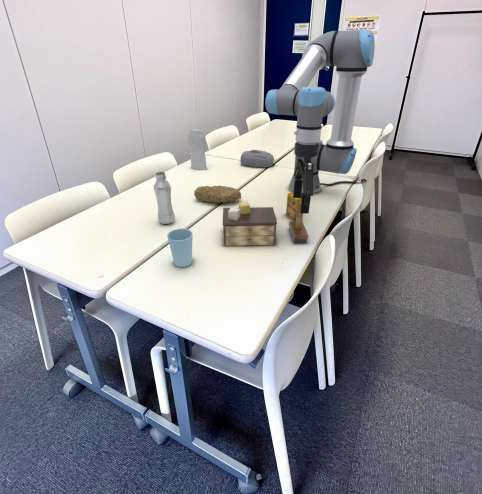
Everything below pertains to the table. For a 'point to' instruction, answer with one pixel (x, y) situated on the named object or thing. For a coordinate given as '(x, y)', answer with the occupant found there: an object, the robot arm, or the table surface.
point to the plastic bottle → (163, 199)
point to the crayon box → (292, 206)
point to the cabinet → (250, 227)
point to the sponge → (217, 194)
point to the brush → (298, 227)
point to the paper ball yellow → (244, 207)
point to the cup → (181, 246)
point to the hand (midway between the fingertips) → (300, 205)
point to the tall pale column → (197, 149)
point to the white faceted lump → (233, 214)
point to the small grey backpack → (257, 158)
